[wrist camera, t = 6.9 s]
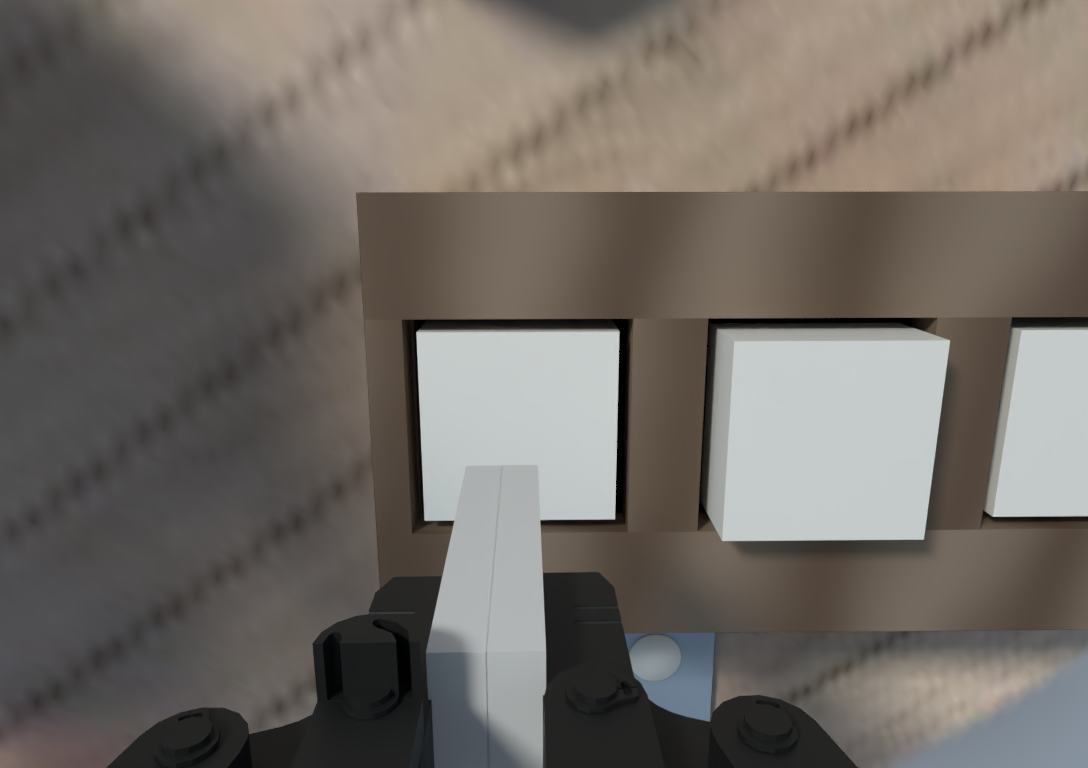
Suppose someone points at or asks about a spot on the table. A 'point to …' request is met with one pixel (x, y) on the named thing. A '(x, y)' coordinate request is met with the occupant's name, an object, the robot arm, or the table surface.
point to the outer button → (1042, 422)
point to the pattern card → (675, 670)
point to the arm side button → (521, 409)
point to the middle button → (821, 430)
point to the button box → (679, 385)
